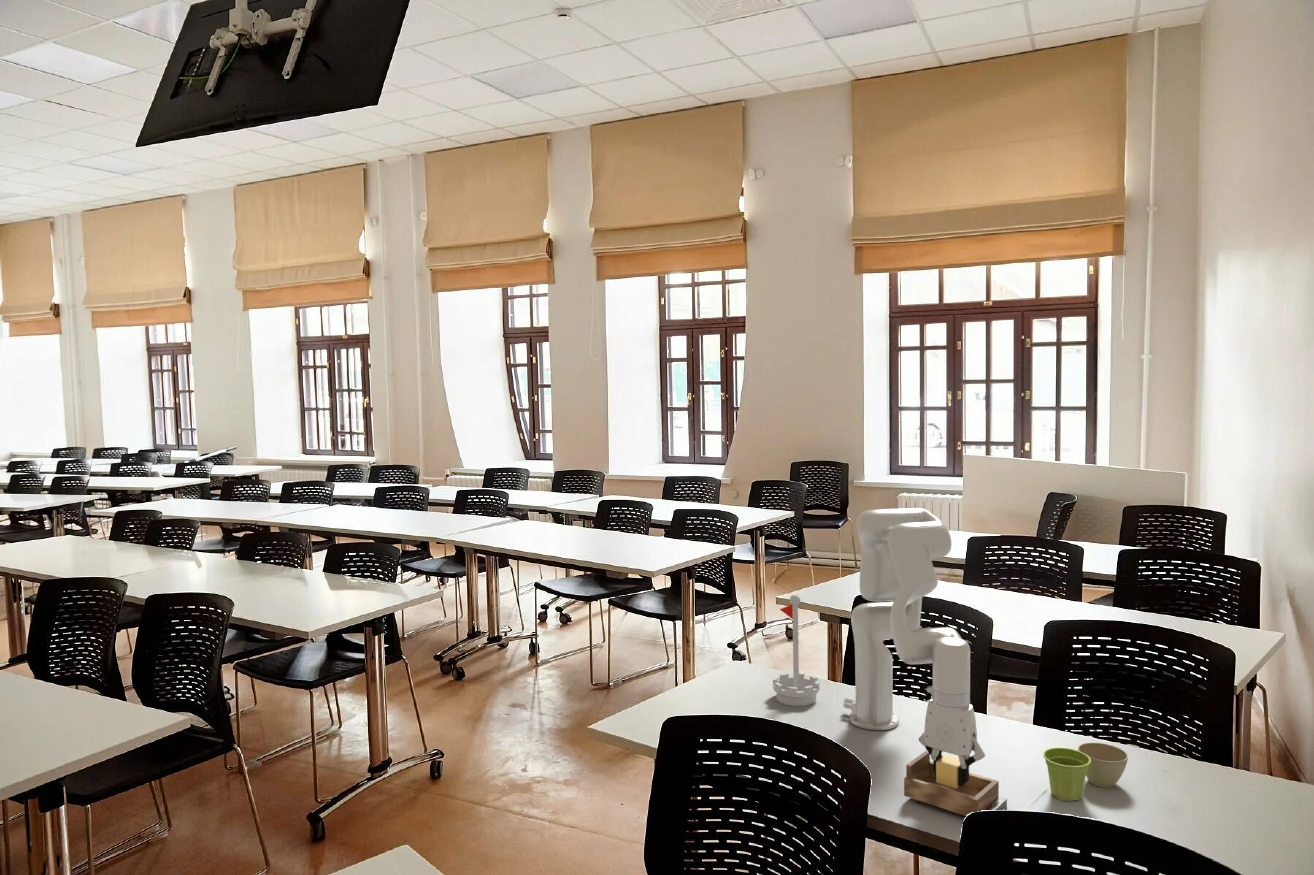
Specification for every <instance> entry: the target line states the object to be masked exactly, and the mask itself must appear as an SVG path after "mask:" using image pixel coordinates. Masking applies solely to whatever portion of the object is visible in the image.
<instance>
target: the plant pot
mask: <svg viewBox="0 0 1314 875" xmlns="http://www.w3.org/2000/svg"><path fill="white" fill-rule="evenodd" d="M1042 756H1043V758H1044V760H1045V763H1046V766H1047V773H1048V779H1049V787H1050V793H1051V795H1053V796H1054V797H1055V798H1056V799H1058V800H1061V801H1066V802H1073V801H1075V800H1076V801H1080V800H1082V798H1083V792H1084V787H1085V780H1086V777H1087V776H1086V771H1087V769H1088V766H1089V765H1090V763H1091V759H1090V757H1089V756H1088V755H1086V754H1085V753H1083V752H1080V751H1078V749H1073V748H1067V747H1051V748H1048V749H1046V750H1044V751H1043V753H1042Z"/></svg>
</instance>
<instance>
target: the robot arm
mask: <svg viewBox="0 0 1314 875" xmlns="http://www.w3.org/2000/svg"><path fill="white" fill-rule="evenodd" d="M856 530H857V531H856V532H857V537H858V540H859V543H860V551H861V553H860V566H859V567H860V569H859V592H860V596H861V597H862V598H863V599H865V600H867V601H870V602H867V603H860V604H859V605H857V606H856V607H854V608H853V610H852V611H851V614H850V615H851V616H850V620H851V621H850V622H851V628H852V634H853V642H854V661H855V662H854V665H855V666H854V667H855V669H854V670H855V671H854V672H855V673H854V675H855V684H854V685H855V687H854V688H855V699H852V698H849V697H845V698H844V700H843V708H844V709H849V710H851V712H850V714H849V721H850V723H851V724H853V726H856V727H858V728H861V729H865V730H871V731H887V730H892V729H894V728H896V727H897V726H898V725H899V723H900V722H899V721H900V718H899V716H898V715H897V714H896V713H894V712H893V711H894V709H893V708H894V707H893V706H894V705H893V704H894V702H893V699H894V697H893V696H894V695H893V691H894V690H893V686H894V683H893V677H894V676H893V666H894V665H893V655H892V653H891V651H890V649H889V648H887V646H886V645H885V644H884V641H886V640H893V644H894V648H895V651H896V652H897V656H898V657H899V659H900V660H901V661H902V662H904V663H905V664H907V665H923V664H924V665H925V664H926V665H927V664H932V685H931V686H929V685H928V686H927V688H926V692H927V693H929V694H930V695H931V698H930V699H929V700H928V702H927V706H926V711H925V712H926V713H925V718H924V719H925V720H924V727H923V728H924V731H923V733H922V734H921V735H920V736H919V737H918V742H919V743H920V744H921V745H922V746H923V747H925V749H926V750H925V751H927V752H929V754H930V760H933V761H932V762H933V772H934V773H935V779H936V762H937V761H938V760H939V759H941V758H942V757H944V755H943V753H947V754H950V755H955V756H957V758H958V759H959V761H960V767H959V768H958V785H959V786H961V787H962V786H963V785H964V784H965V783H967V782H968V780H969V773H970V766H971V765H973V764H974V763H976V762H978V761H980V760H983V759H984V758H985V757H986V754H985V752H984V750H983V748H982V747H981V746H980V744H979V742H978V733H977V732H978V731H977V729H978V728H977V723H976V722H977V721H976V716H975V714H976V713H975V710H974V707H973V705H972V703H971V647H970V645H969V643H968V642H967V641H966V640H965V639H963V638H962V637H961V635H960V634H959V632H958V631H957V630H956V629H955V628H953V627H949V626H948V627H947V626H946V627H943V626H941V627H925V628H923V627H922V628H920V626H921V617H922V616H921V614H922V605H923V604H922V603H923V597H925V596H927V595H929V594H931V593H932V592H934V591H935V590H936V588H937V587H938V584H939V582H938V576H937V574H936V571H935V568H934V565H933V560H932V558H943V557H946V556H947V555H949V553H950V552H951V551H952V537H951V534H950V532H949V530H948V528H947V526H946V525H945V523H944V522H943V521H942V520H940V518H938V517H937V516H935V515H934V514H933V513H931V512H930V511H929V510H927V509H925V508H922V507H909V508H907V507H906V508H905V507H904V508H881V509H880V508H879V509H878V508H877V509H869V510H865V511H862V512H861V513H860V514H859V515H858V518H857V521H856ZM972 751H973V753H974V754H972V755H971V753H972Z"/></svg>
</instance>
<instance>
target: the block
mask: <svg viewBox="0 0 1314 875" xmlns="http://www.w3.org/2000/svg"><path fill="white" fill-rule="evenodd" d="M959 767H960V761H959V757H955V756H952V755H951V756H950V755H947V754H945V755H943V757H942V758H941V759H939V760H938V761H937V762H936V782H937V783H940V784H943V785H946V786H949V787H953V788H956V789H957V788H958V787H959V785H958V768H959Z"/></svg>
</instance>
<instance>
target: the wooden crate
mask: <svg viewBox="0 0 1314 875" xmlns="http://www.w3.org/2000/svg"><path fill="white" fill-rule="evenodd" d="M905 766H906V767H905V768H906V771H905V773H906V774H905V777H903V796H904V797H907V798H910V799H912V802H914V803H918V802H923V803H925V804H927V805H928V804H929V805H932V806H935V807H937V808H940V809H944V810H947V811H950V812H952V813H954V814H955V813H956V814H959V815H962V816H965V817H967V816H966V815H967V814H969V813H971V812H977V811H981V810H988V809H989V808H990V807H991V806H992V805H993V804H994V803H996V802H997V801H998V800H999V799H1000V796H999V790H1000V789H999V788H1000V784H999V782H1000V781H999V780H996V779H993V778H989V777H985V776H982V775H978V774H976V773H972V772H969V780H968V782H967V783H965V784H964V785H963V786H962V787H961V786H959V787H958V788H957V789H956V788H953V787H949V786H946V785H943V784H940V783H937V782H936V779H935V773H934V772H933V761H931V755H930V754H929V752H928V751H927V750H925V751H923V752H922V753H921V754H919V755H918V756H917V757H915V758H914V759H912V760H911V761H910V762H908V763H907V764H906V765H905Z"/></svg>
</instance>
